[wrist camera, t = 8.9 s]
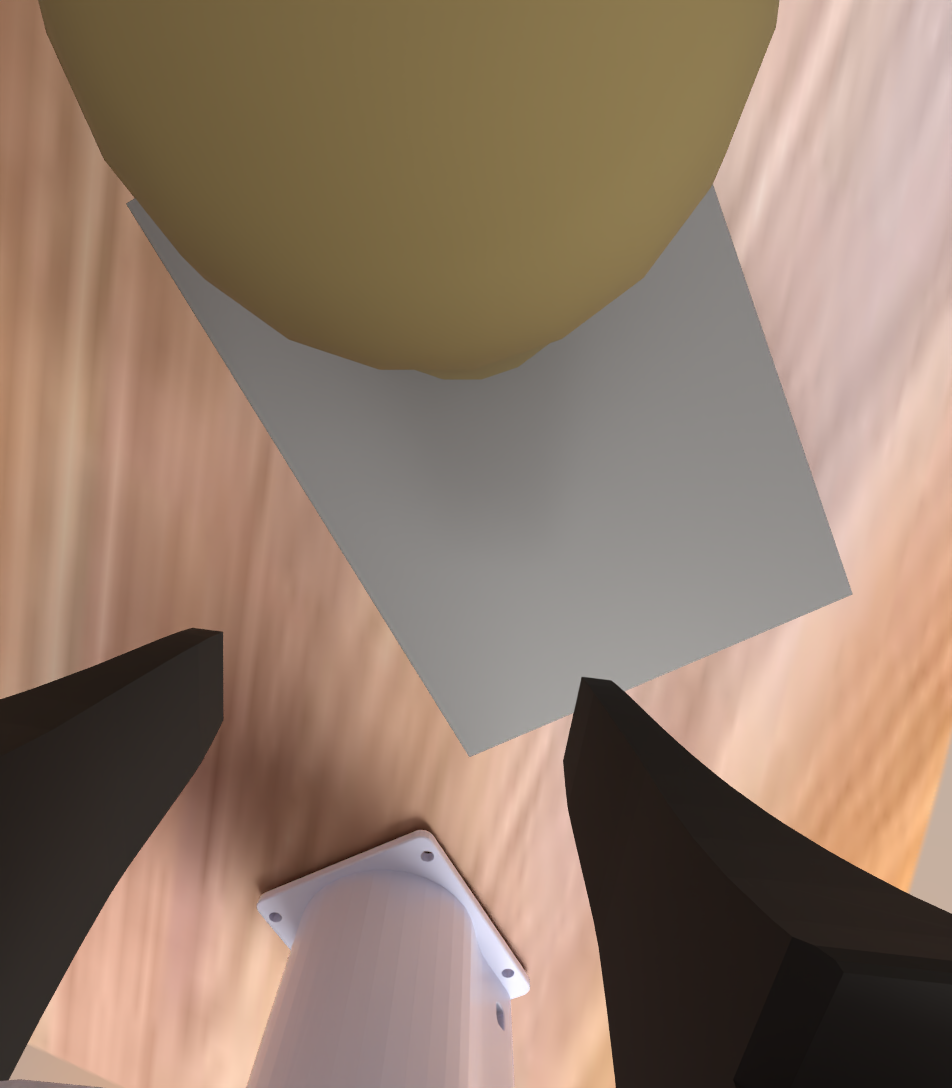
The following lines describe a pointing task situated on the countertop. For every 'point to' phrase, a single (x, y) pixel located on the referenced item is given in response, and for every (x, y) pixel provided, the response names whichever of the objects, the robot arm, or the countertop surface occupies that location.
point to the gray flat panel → (556, 488)
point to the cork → (415, 154)
